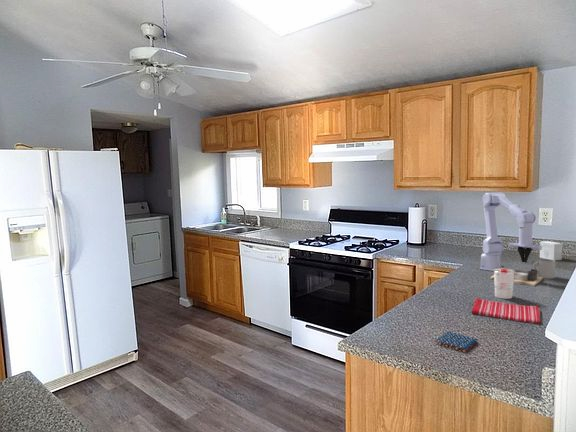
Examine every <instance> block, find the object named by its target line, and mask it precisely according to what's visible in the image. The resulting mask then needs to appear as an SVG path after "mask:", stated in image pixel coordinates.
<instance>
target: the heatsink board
mask: <svg viewBox="0 0 576 432" xmlns="http://www.w3.org/2000/svg"><path fill="white" fill-rule="evenodd" d="M500 267H505V265H500ZM500 267H498V268H500ZM537 271H538V269H537V268H536V269H533V268H531V269H530V270H528V273H522V272H514V284H519V285H525V286H530V287H535V286H536V285H537V284H538V283H540V282H541V281H543V279H544V278H543V277H539V275H538V274H537ZM489 279H490V280H493V281H494V274H493V275H491V276H490V278H489Z"/></svg>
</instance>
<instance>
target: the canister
mask: <svg viewBox="0 0 576 432" xmlns="http://www.w3.org/2000/svg"><path fill="white" fill-rule="evenodd" d="M514 272H515V271H514V270H511V269H505V268H497V269H494V271H493V275H494V280H493V283H494V284H493V285H494V297H495V298H499V299H504V300H509V299H512V298H513V293H514V284H515V283H514Z"/></svg>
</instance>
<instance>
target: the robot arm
mask: <svg viewBox="0 0 576 432" xmlns="http://www.w3.org/2000/svg"><path fill="white" fill-rule="evenodd" d="M481 200H482V206H483V213H484V223H485V231H486V238H485V239H484V240H483V241H482V243H483V244H482V251H483V252H482V254H481V256H480V268H479V269H480V270H484V271H491V272H494V269H497V268H498V267H501V265H500V264H501V255H502V253H503V252H504V251H505V250H504V249H505V247H504V244H503V241H502V239H501V238H500V237H498V229H497V228H498V227H497V221H496V219H497V218H496V209H497V208H498V207H499V206H503V207H505V208H507V209H508V213H510V214H511V215H512V216H513V217H515V218H516V222H517V227H518V229H519V230H518V242H509V243H508V247H509V248H516V250H517V252H518V253H519V256H520V259H521V263H525V264H526V263H528V259H529V257H530V255H531V254H532V253H531V252H532V251H533V250H538V251H540V250H542V246H540V244H533V223H535V222H536V214H535V213H534V212H533V211H527V209H524V208H523V207H522V206H521V205H520V204H519V203H518V204H517V203H516V204H514V203H513V202H512V201H511V200H510V199H509V198H507V196H506V194H505V193H504V192H501V191H499V192H485V193H484V195H483V196H482V199H481Z"/></svg>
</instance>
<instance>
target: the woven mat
mask: <svg viewBox="0 0 576 432" xmlns="http://www.w3.org/2000/svg"><path fill="white" fill-rule="evenodd" d="M478 340H479V339H478V338H474V337H470V336H466V335H463V334H460V333H456V332H453V331H446V333H444V334H443V335H440V336H439V337H438V338H436V339H435V340H434V342H435V345H439V346H442V347H444V346H445V347H446V348H449V349H452V350H455V351H459V352H461V351H462V352H463V353H466V352H468V351H469V350H470V349H472V348H473V346H475V345H476V344H478V343H479V342H478Z"/></svg>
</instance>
